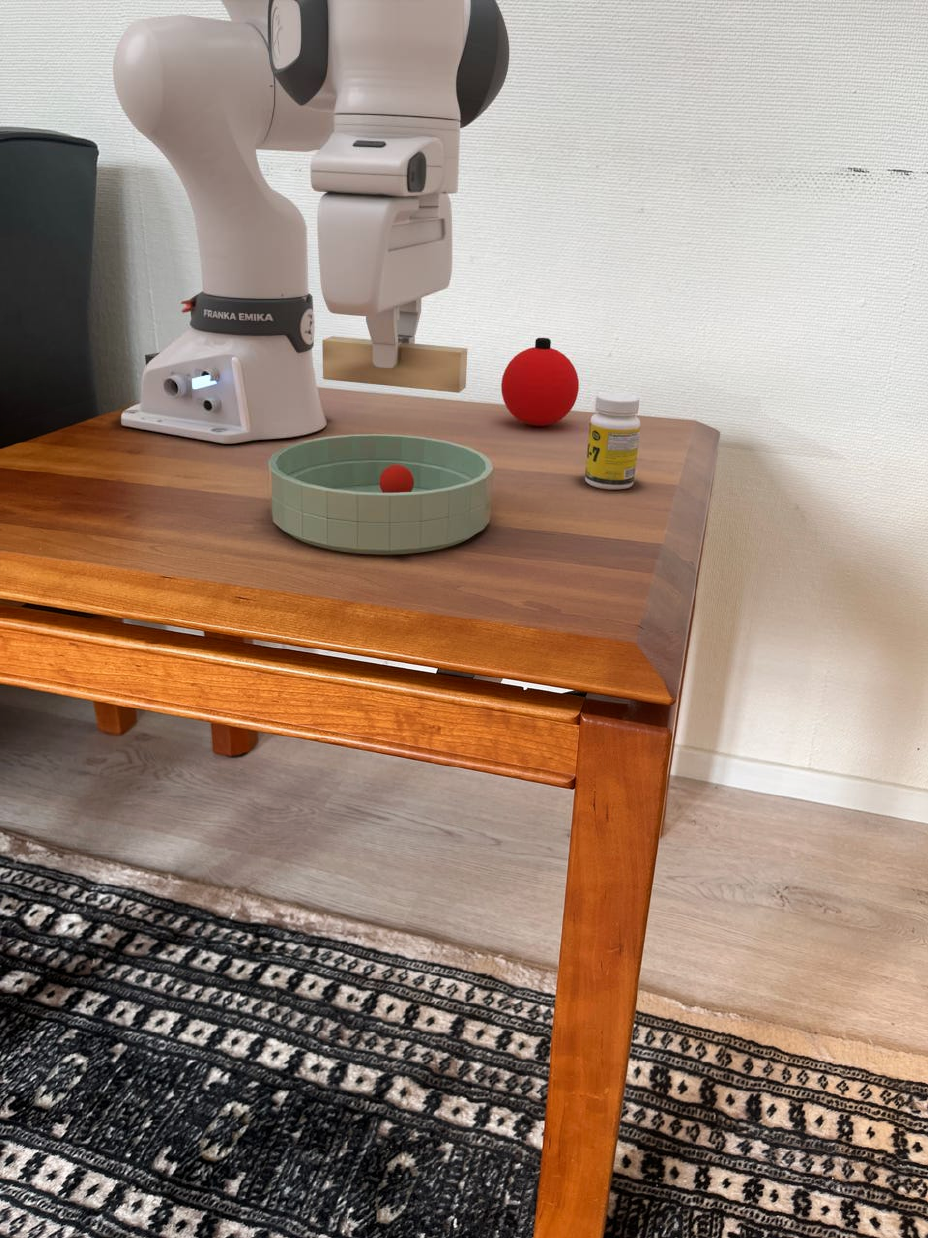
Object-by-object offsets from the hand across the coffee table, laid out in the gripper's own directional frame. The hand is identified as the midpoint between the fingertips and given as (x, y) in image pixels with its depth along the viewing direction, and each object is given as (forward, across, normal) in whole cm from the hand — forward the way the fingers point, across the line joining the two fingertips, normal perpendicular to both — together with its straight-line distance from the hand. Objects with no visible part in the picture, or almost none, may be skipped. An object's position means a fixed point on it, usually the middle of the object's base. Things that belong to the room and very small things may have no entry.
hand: (393, 362), depth 76 cm
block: (+2, 0, 0) cm, 2 cm away
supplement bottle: (+14, -20, +16) cm, 28 cm away
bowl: (+13, -2, -1) cm, 14 cm away
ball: (+11, -6, -1) cm, 13 cm away
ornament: (+14, -41, +5) cm, 43 cm away
